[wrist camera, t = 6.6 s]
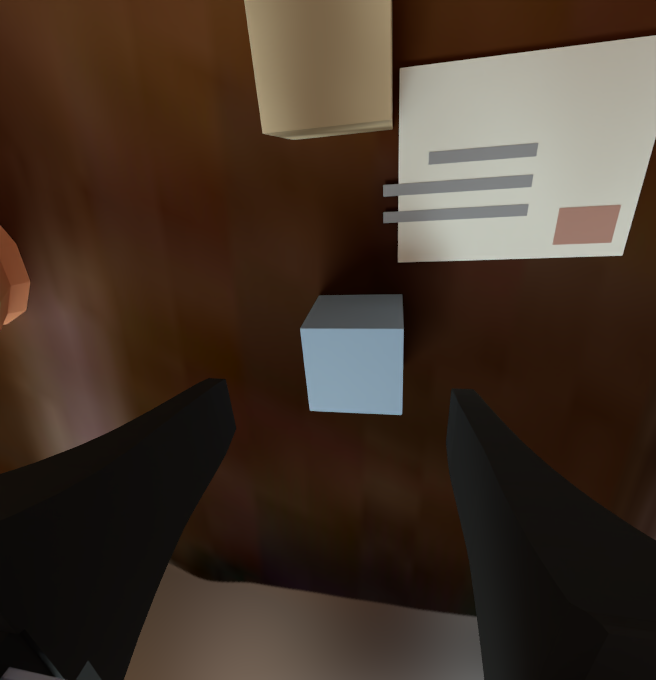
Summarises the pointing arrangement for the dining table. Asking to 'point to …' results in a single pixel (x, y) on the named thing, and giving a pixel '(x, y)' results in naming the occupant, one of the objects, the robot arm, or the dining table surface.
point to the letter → (524, 153)
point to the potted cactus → (12, 280)
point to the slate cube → (354, 353)
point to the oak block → (322, 66)
